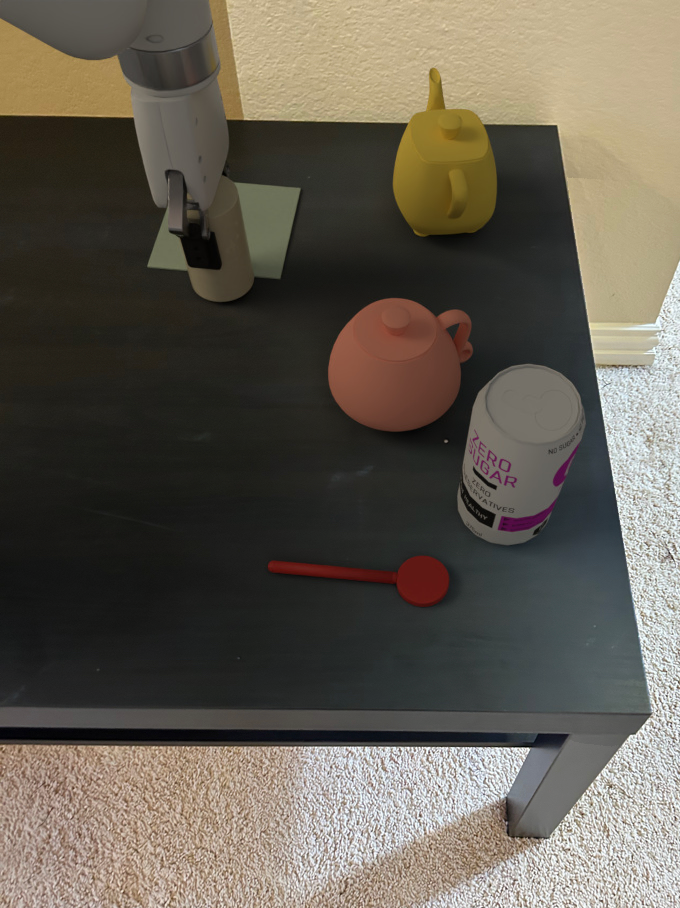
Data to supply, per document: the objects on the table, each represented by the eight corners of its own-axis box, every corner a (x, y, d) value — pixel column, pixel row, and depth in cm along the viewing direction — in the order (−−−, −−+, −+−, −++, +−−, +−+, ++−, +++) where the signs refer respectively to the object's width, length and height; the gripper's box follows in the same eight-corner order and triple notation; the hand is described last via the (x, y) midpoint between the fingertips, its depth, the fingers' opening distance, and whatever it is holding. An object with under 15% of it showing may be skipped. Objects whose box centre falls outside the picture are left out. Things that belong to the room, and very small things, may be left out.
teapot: (382, 158, 88) (382, 64, 78) (475, 152, 89) (486, 58, 79) (403, 269, 80) (407, 179, 70) (505, 260, 80) (522, 171, 71)
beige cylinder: (185, 299, 76) (159, 215, 67) (199, 254, 79) (176, 168, 70) (247, 305, 76) (230, 222, 67) (259, 259, 79) (244, 175, 70)
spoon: (264, 592, 62) (262, 587, 61) (273, 545, 64) (271, 540, 63) (446, 609, 62) (447, 605, 61) (450, 561, 64) (451, 556, 63)
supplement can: (558, 483, 68) (601, 375, 55) (535, 561, 64) (575, 465, 51) (472, 457, 69) (493, 345, 56) (444, 532, 65) (461, 431, 52)
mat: (147, 267, 79) (146, 266, 78) (178, 179, 85) (177, 177, 85) (280, 279, 78) (280, 277, 78) (300, 189, 85) (300, 187, 85)
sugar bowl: (312, 363, 73) (303, 283, 64) (444, 325, 76) (452, 243, 67) (356, 462, 68) (352, 390, 59) (495, 417, 71) (512, 342, 62)
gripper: (147, -18, 61) (195, 178, 77) (85, 115, 53) (153, 302, 69) (238, -10, 61) (267, 184, 77) (190, 124, 53) (234, 310, 69)
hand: (213, 238), depth 73 cm, fingers closed on beige cylinder, 6 cm apart
